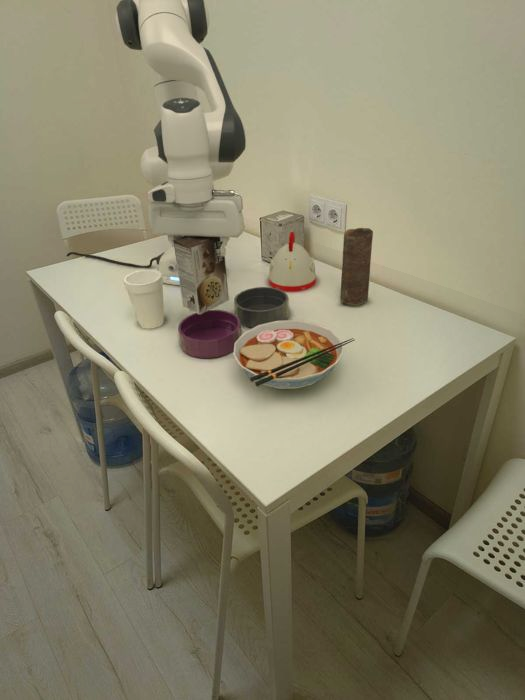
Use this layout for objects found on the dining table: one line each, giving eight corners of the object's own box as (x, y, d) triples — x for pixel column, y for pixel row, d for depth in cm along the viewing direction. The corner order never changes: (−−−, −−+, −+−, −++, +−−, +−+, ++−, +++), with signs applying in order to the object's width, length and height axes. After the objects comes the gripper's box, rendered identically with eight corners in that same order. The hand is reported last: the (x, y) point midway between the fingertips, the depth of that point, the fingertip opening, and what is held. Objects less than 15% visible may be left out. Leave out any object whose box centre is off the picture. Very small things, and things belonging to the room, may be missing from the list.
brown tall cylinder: (367, 309, 126) (372, 236, 115) (339, 308, 128) (342, 235, 117) (367, 296, 132) (373, 225, 122) (341, 295, 134) (344, 225, 123)
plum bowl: (171, 356, 112) (167, 338, 109) (193, 325, 124) (191, 307, 121) (231, 362, 108) (229, 343, 106) (248, 329, 121) (247, 311, 118)
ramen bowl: (303, 335, 117) (303, 305, 112) (368, 380, 100) (371, 347, 96) (212, 370, 106) (208, 339, 102) (269, 427, 89) (267, 393, 85)
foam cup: (134, 334, 121) (123, 287, 114) (132, 317, 129) (122, 272, 122) (171, 327, 123) (163, 281, 116) (168, 311, 131) (160, 267, 124)
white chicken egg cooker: (266, 291, 139) (263, 241, 130) (272, 271, 150) (270, 224, 142) (314, 292, 136) (314, 241, 128) (317, 272, 148) (317, 224, 140)
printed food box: (211, 292, 115) (204, 227, 106) (229, 300, 111) (224, 233, 103) (181, 306, 110) (171, 239, 101) (199, 315, 106) (191, 246, 97)
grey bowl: (229, 326, 122) (227, 309, 119) (243, 301, 134) (242, 285, 131) (282, 331, 119) (282, 313, 116) (293, 305, 130) (292, 288, 128)
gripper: (245, 186, 97) (250, 251, 104) (153, 185, 101) (163, 247, 109) (237, 194, 92) (242, 262, 99) (139, 193, 96) (151, 258, 104)
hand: (200, 254), depth 104 cm, fingers closed on printed food box, 8 cm apart
